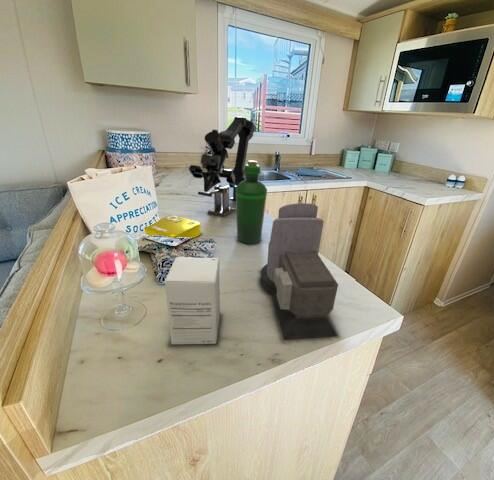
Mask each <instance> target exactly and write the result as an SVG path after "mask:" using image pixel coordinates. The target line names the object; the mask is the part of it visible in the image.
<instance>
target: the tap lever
mask: <svg viewBox="0 0 494 480" xmlns="http://www.w3.org/2000/svg"><path fill="white" fill-rule="evenodd" d="M223 187H224V186H221V187H218V190H214V189H213V190H209V191H208V192H205V191H198V192H197V195H199V196H204V197H210V198H212V197H213V195H214V194H215V193H221V195H222V188H223Z"/></svg>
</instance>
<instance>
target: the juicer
mask: <svg viewBox="0 0 494 480" xmlns="http://www.w3.org/2000/svg"><path fill="white" fill-rule="evenodd" d="M318 211H319V207H318V205H317V204H314V203H309V202H308V203H307V202H299V203H297V202H296V203H289V204H285V205H283V206H281V207H279V208H278V213H277V214H278V215H277V218H275V219H273V221H272V227H271V233H270V237H269V238H270V239H269V242H268V247H267V249H268V250H267V263H266V264H265V265H264V266H263V267H262V268H261V271H260V286H261V288H262V289H263V290H264V291H265V292H266V293H267V294H268V295H270V296H271V299H272V302H273V305H274V309H275V312H276V316H277V320H278V324H279V326H280V331H281V334H282V337H283V340H297V339H312V338H324V337H325V338H326V337H338V334H337V332H336V330H335V328H334V326H333V324H332V323H331V321H330V319H329V317H328V315H330V314H331V313H332V311H334V307H335V302H336V297H337V292H338V287H339V283H338V282H337V280H336V279H335V277H334V276H333V274H332V273H331V271H330V270H329V268H328V267H327V265H326V264H325V263H324V261H323V259H322V258H321V257H320V255H319V251H320V246H321V241H322V235H323V234H322V233H323V228H324V220H323V218H320V217H317V216H318Z"/></svg>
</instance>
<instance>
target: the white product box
mask: <svg viewBox="0 0 494 480" xmlns="http://www.w3.org/2000/svg"><path fill="white" fill-rule="evenodd" d="M220 285H221V283H220V258H219V257H190V256H176V257H175V258H174V261H173V262H172V265H171V267H170V268H169V271H168V273H167V275H166V277H165V279H164V288H165V297H166V306H167V316H168V325H169V333H170V343H171V345H216V344H217V343H218V333H219V325H220V317H221V298H220V297H221V296H220V295H221V294H220V291H221V290H220Z"/></svg>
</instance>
